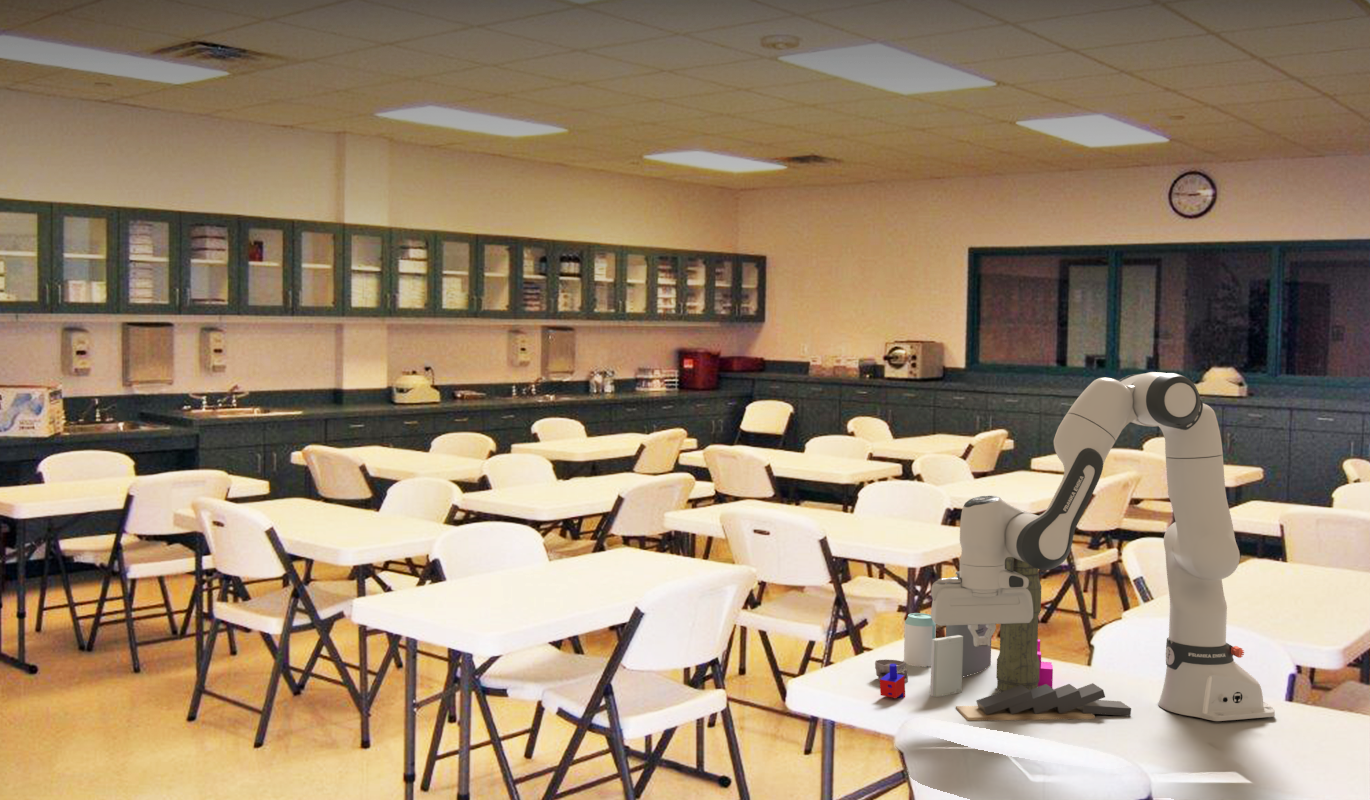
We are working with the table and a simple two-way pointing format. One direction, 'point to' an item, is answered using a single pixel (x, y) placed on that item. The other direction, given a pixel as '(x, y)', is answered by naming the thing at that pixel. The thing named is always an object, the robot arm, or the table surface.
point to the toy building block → (892, 684)
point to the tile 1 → (1004, 699)
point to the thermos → (1020, 638)
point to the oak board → (1020, 714)
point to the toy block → (1044, 670)
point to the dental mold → (884, 668)
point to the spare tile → (1064, 696)
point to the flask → (971, 647)
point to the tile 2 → (1035, 699)
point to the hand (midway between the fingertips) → (981, 645)
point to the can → (919, 639)
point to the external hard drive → (946, 665)
